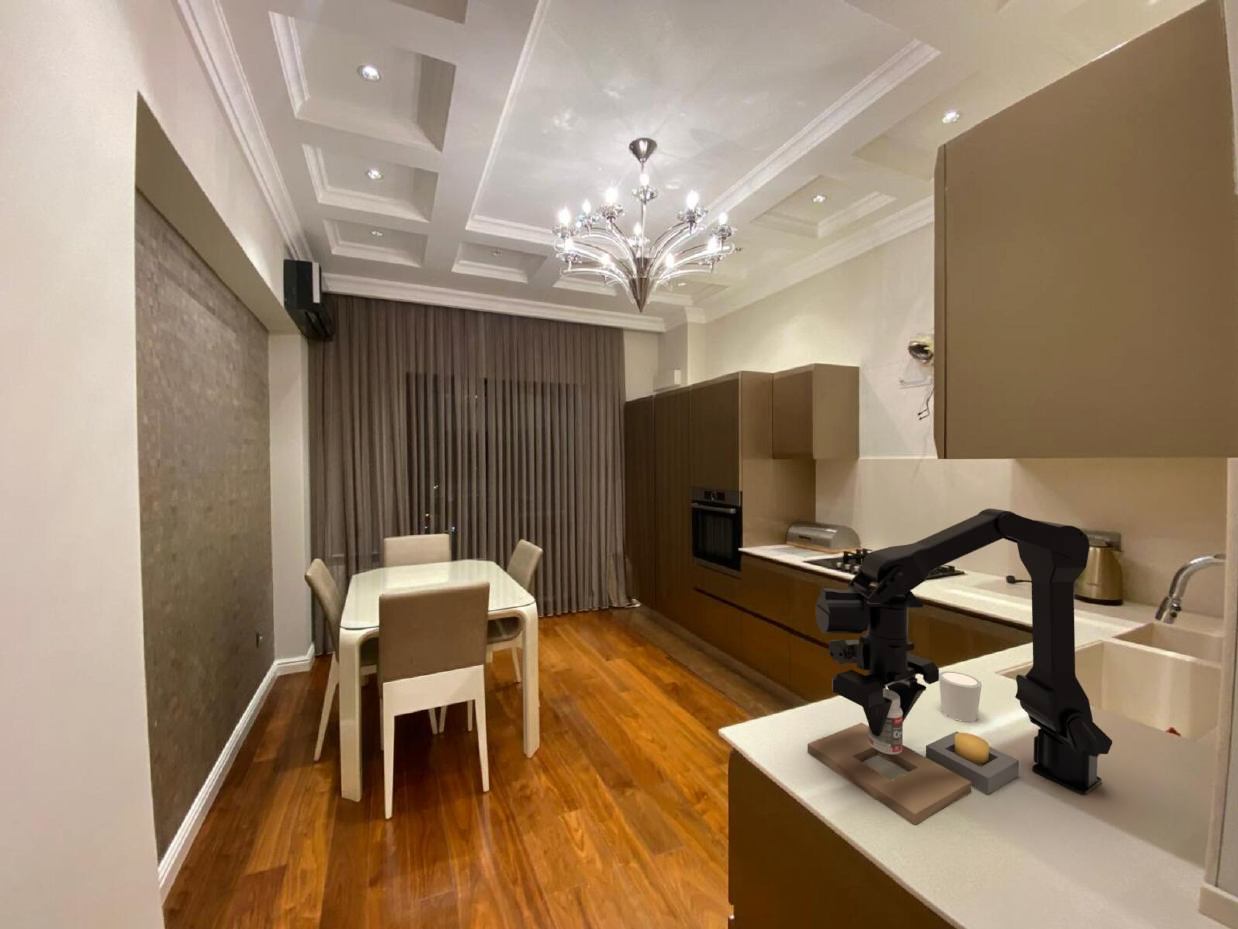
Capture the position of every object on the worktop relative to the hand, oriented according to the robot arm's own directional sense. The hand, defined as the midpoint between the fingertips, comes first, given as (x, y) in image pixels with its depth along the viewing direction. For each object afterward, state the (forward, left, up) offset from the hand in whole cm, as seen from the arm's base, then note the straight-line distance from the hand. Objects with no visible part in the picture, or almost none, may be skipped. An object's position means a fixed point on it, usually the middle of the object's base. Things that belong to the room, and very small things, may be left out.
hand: (885, 730), depth 77 cm
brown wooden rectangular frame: (0, 0, -6) cm, 6 cm away
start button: (-6, -13, -4) cm, 15 cm away
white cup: (+4, -29, -7) cm, 30 cm away
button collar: (-6, -13, -6) cm, 16 cm away
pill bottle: (0, 0, -3) cm, 3 cm away
